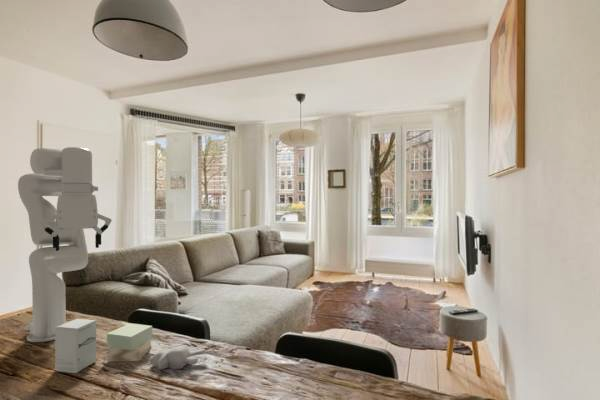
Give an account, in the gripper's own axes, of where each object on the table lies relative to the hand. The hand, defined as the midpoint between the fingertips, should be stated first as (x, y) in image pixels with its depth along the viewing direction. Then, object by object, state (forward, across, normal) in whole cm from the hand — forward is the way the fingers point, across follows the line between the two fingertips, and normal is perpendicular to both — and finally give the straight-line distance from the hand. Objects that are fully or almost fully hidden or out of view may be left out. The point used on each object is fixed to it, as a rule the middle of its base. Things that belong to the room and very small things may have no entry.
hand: (77, 248), depth 98 cm
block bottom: (+35, -14, -1) cm, 37 cm away
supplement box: (+34, +1, -1) cm, 34 cm away
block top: (+31, -14, -1) cm, 33 cm away
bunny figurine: (+35, -24, +15) cm, 45 cm away
